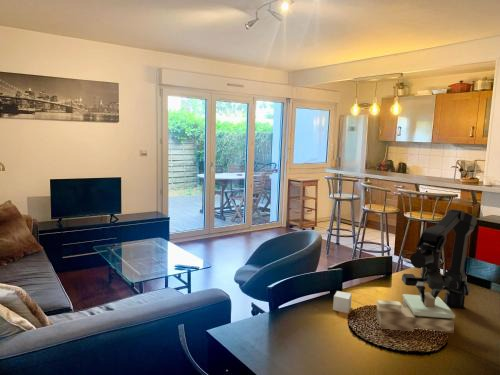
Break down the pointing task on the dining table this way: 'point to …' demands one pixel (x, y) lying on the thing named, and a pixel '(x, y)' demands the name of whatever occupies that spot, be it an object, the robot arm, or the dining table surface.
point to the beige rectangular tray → (412, 321)
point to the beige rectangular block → (389, 306)
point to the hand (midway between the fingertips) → (427, 302)
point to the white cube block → (342, 302)
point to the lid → (428, 306)
